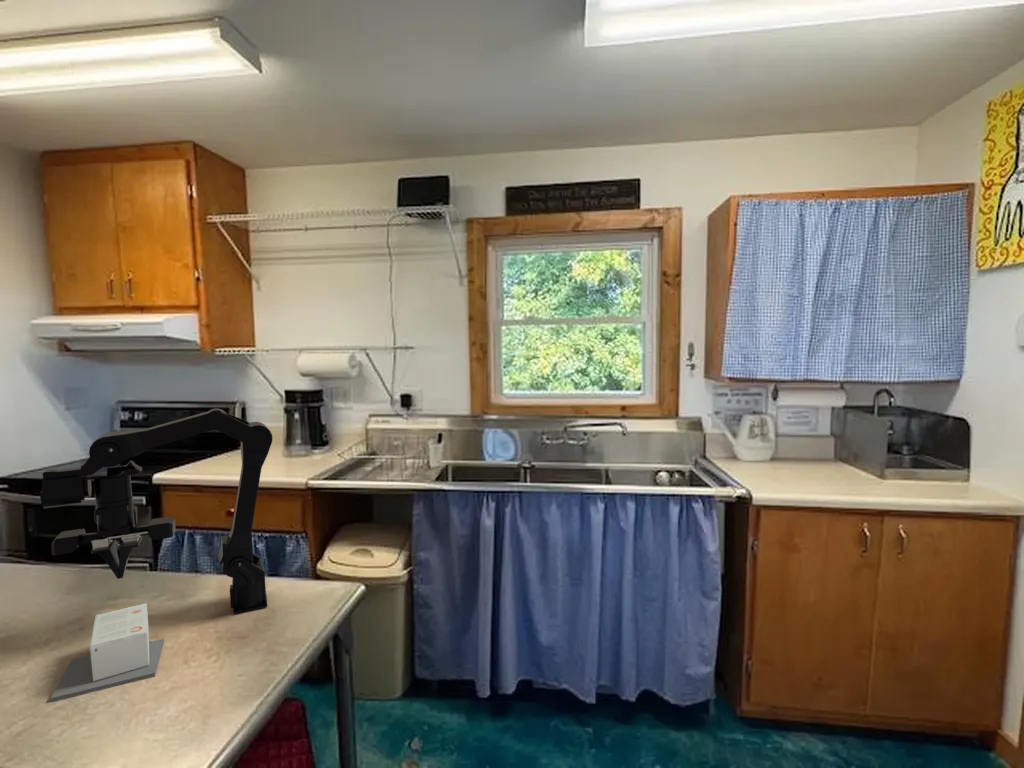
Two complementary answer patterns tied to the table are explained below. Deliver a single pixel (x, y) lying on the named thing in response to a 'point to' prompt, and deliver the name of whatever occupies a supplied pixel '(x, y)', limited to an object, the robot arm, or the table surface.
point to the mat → (81, 678)
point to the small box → (119, 642)
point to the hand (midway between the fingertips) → (120, 577)
